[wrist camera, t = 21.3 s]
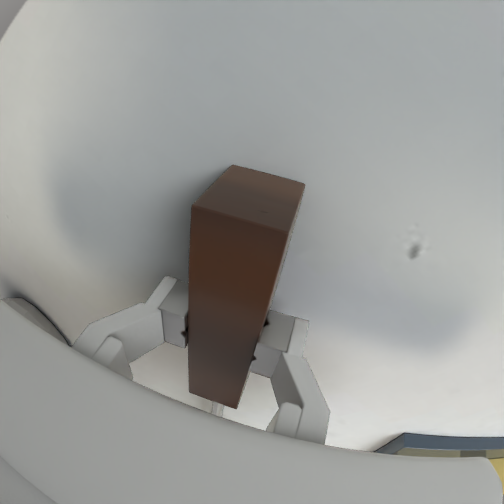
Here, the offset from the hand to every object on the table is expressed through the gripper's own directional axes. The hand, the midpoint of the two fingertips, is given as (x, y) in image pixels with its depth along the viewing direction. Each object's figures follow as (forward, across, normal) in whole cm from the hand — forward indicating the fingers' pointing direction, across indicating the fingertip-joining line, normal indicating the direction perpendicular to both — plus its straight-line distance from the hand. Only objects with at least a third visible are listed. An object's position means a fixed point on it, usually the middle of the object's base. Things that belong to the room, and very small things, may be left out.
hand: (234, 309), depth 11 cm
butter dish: (+2, -21, +15) cm, 26 cm away
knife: (+2, 0, +5) cm, 5 cm away
